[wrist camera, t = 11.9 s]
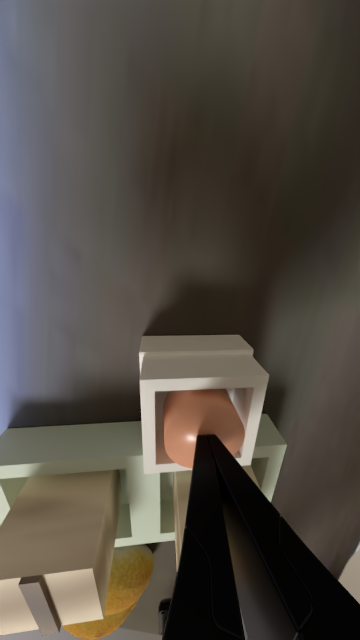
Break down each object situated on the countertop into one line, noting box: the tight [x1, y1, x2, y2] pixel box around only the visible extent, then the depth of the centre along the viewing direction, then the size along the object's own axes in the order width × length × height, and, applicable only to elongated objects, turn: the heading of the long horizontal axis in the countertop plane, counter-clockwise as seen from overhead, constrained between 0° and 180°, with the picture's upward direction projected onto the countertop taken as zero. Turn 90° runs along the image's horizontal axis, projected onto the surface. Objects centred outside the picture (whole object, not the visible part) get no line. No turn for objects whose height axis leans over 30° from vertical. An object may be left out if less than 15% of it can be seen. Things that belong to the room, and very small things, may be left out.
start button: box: [163, 389, 245, 468], centre depth 10 cm, size 4×4×2 cm
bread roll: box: [62, 544, 153, 639], centre depth 17 cm, size 8×9×4 cm
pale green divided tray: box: [0, 414, 287, 547], centre depth 14 cm, size 9×18×2 cm, turn 88°
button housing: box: [139, 335, 269, 474], centre depth 11 cm, size 6×6×4 cm
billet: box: [0, 469, 122, 635], centre depth 12 cm, size 5×5×6 cm
